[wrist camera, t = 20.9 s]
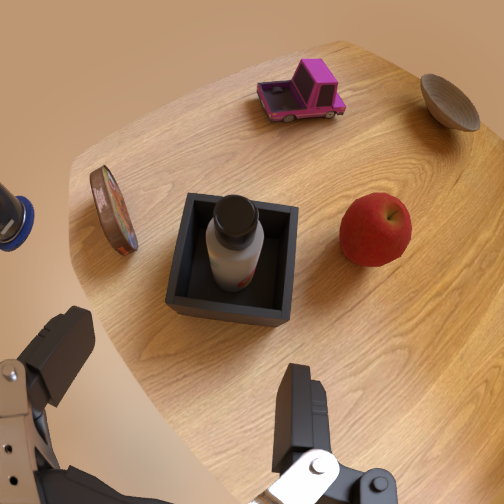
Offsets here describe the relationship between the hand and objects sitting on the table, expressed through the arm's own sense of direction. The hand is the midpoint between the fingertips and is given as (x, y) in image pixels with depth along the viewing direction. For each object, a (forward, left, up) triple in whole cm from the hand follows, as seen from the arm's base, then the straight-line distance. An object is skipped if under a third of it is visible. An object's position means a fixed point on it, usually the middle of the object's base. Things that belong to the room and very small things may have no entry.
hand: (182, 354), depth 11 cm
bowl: (+46, +58, -32) cm, 80 cm away
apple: (+20, +19, -32) cm, 42 cm away
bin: (+1, +12, -32) cm, 34 cm away
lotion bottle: (+1, +11, -31) cm, 33 cm away
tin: (-19, +18, -32) cm, 41 cm away
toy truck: (+9, +48, -32) cm, 58 cm away
